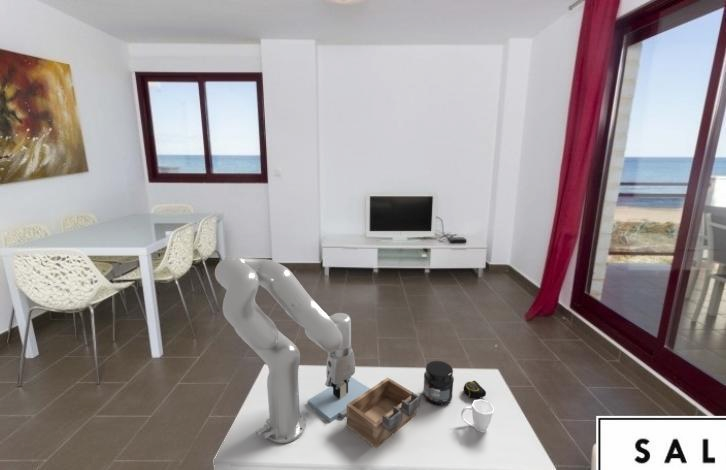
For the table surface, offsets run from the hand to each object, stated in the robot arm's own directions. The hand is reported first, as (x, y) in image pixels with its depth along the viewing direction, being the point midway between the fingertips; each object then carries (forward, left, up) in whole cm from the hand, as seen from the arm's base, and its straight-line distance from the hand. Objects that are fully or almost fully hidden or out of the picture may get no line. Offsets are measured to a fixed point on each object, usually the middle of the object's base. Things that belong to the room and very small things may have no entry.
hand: (340, 393), depth 129 cm
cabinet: (+3, -19, -2) cm, 19 cm away
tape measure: (+37, -32, -3) cm, 49 cm away
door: (0, 0, -2) cm, 2 cm away
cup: (+23, -41, -3) cm, 47 cm away
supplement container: (+26, -24, -3) cm, 35 cm away
